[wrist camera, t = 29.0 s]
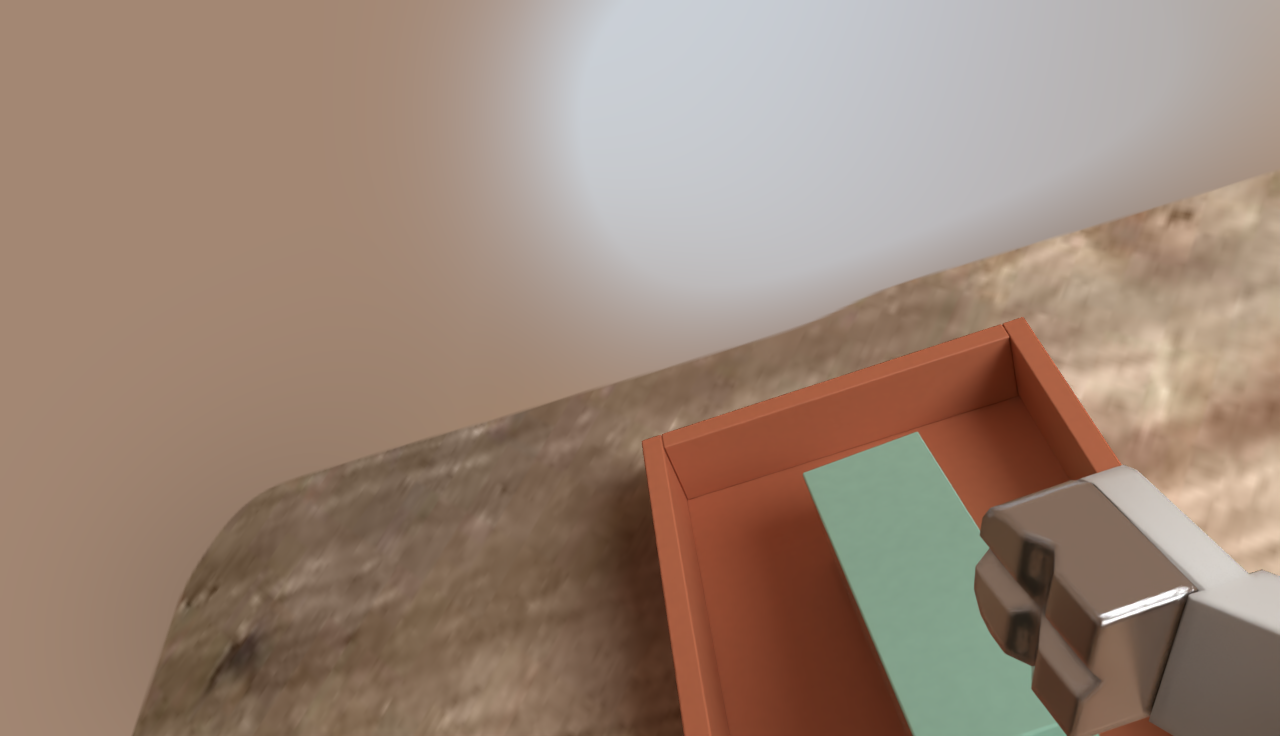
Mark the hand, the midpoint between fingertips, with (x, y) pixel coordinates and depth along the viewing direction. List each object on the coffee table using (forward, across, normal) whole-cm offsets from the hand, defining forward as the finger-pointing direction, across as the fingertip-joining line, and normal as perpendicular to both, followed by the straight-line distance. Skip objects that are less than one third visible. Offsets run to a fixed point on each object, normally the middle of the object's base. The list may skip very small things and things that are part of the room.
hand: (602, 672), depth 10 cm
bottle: (+7, -11, +18) cm, 22 cm away
